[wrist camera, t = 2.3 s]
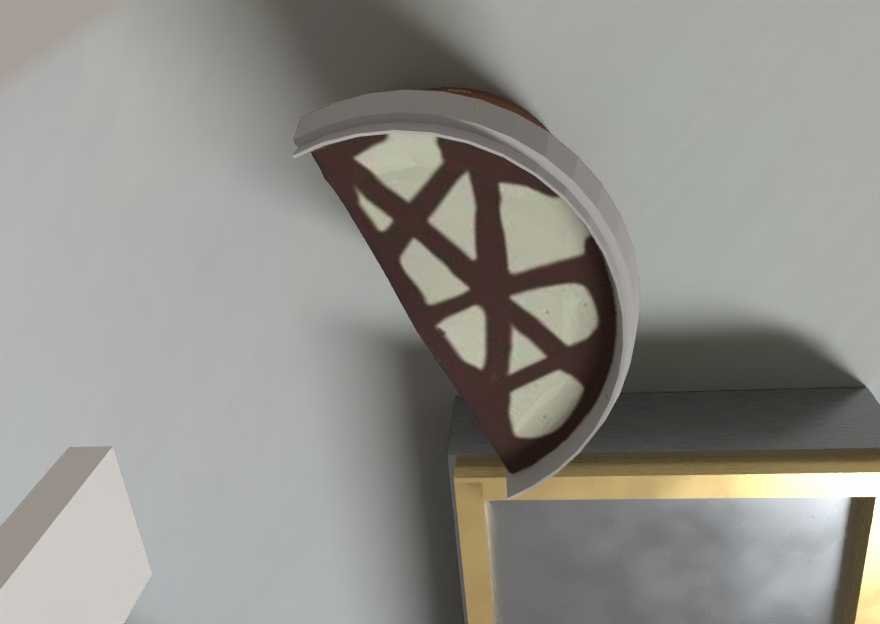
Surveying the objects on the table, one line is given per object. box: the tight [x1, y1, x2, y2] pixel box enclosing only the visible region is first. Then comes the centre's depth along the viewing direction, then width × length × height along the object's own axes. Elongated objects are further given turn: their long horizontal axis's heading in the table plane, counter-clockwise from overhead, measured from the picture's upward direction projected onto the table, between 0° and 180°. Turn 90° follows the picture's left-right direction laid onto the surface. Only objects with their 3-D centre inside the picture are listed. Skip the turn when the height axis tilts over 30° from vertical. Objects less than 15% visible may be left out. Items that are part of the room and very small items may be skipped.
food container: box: [292, 87, 640, 500], centre depth 25 cm, size 12×6×10 cm, turn 29°
